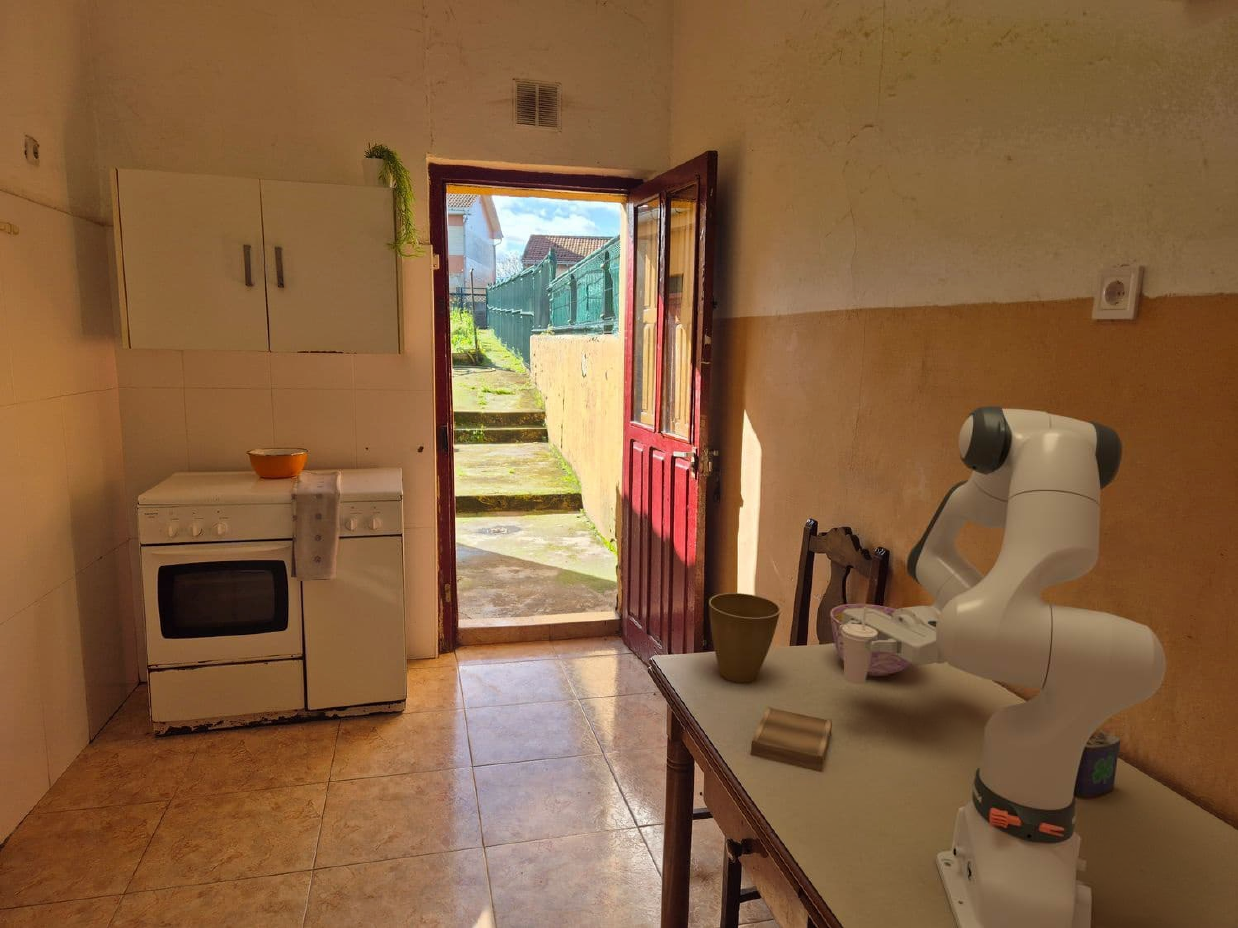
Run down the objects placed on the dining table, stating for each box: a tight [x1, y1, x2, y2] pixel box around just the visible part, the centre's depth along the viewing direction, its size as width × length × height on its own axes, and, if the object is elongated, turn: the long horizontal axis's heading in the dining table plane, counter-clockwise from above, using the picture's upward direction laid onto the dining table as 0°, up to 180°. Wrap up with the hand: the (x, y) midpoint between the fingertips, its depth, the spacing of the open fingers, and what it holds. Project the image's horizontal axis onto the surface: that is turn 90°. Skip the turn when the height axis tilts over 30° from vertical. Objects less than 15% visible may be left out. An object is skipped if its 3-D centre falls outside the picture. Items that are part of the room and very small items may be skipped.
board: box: [750, 706, 833, 772], centre depth 138 cm, size 14×12×3 cm
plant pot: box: [708, 592, 781, 684], centre depth 164 cm, size 15×15×16 cm
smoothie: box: [841, 607, 878, 685], centre depth 143 cm, size 6×6×14 cm
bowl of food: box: [829, 603, 911, 677], centre depth 172 cm, size 20×20×12 cm
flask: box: [1073, 728, 1121, 800], centre depth 127 cm, size 9×3×11 cm, turn 114°
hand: (855, 638), depth 142 cm, fingers closed on smoothie, 6 cm apart
